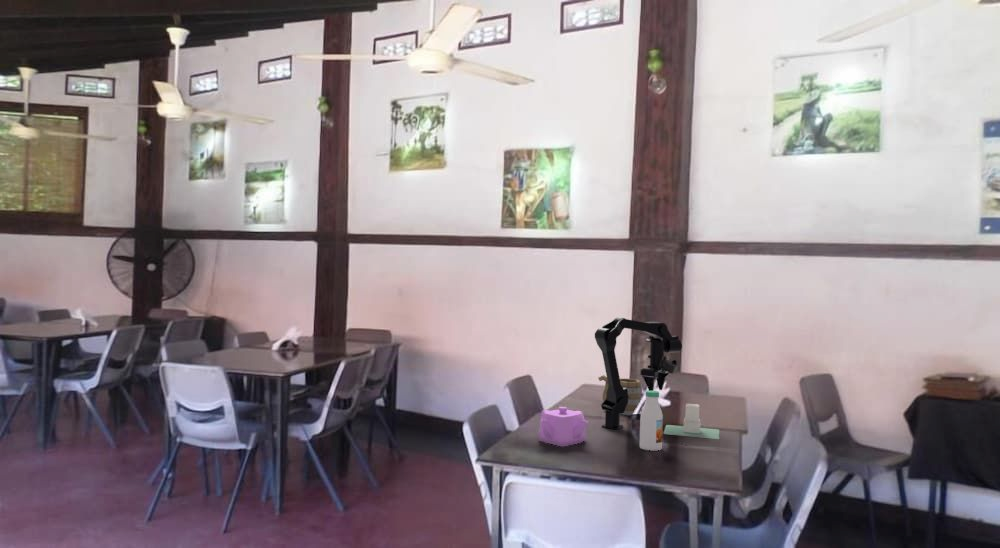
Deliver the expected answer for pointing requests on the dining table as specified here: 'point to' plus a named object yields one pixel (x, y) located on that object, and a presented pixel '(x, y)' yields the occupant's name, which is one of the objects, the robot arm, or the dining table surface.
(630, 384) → the tankard
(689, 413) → the plug housing
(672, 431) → the board
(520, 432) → the dining table surface
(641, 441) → the milk bottle
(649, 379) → the robot arm
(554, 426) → the pink lidded box
